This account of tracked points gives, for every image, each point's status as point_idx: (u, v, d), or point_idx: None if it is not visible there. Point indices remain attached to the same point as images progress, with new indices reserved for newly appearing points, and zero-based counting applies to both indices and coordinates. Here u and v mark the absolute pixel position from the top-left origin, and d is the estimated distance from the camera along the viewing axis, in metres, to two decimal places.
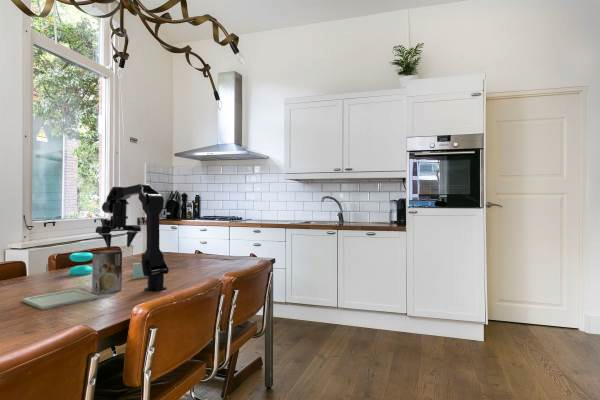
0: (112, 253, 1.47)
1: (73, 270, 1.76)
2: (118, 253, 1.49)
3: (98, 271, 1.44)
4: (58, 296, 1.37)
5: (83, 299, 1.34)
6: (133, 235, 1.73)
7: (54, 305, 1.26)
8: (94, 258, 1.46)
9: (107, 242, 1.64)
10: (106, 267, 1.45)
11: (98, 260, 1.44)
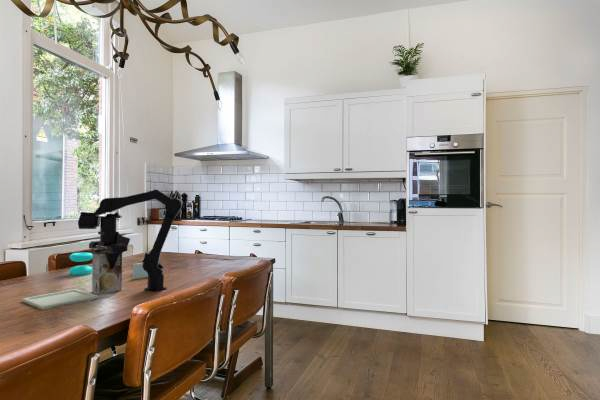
0: None
1: (73, 270, 1.76)
2: None
3: (98, 271, 1.44)
4: (58, 296, 1.37)
5: (83, 299, 1.34)
6: (107, 255, 1.44)
7: (54, 305, 1.26)
8: (94, 258, 1.46)
9: None
10: (106, 267, 1.45)
11: (98, 260, 1.44)
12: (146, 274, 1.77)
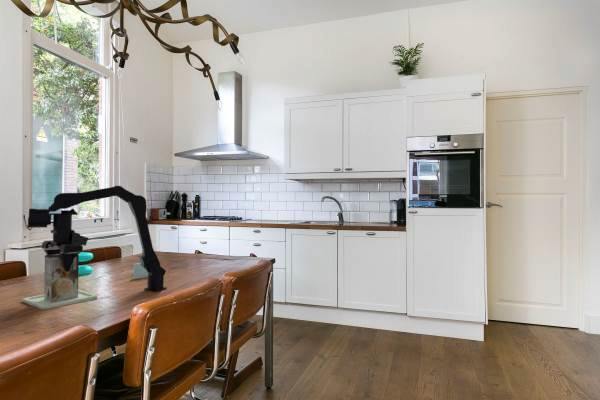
0: None
1: None
2: None
3: (50, 276, 1.30)
4: None
5: (83, 299, 1.34)
6: (61, 257, 1.29)
7: (54, 305, 1.26)
8: (46, 262, 1.32)
9: None
10: (60, 272, 1.31)
11: (50, 264, 1.30)
12: (146, 274, 1.76)
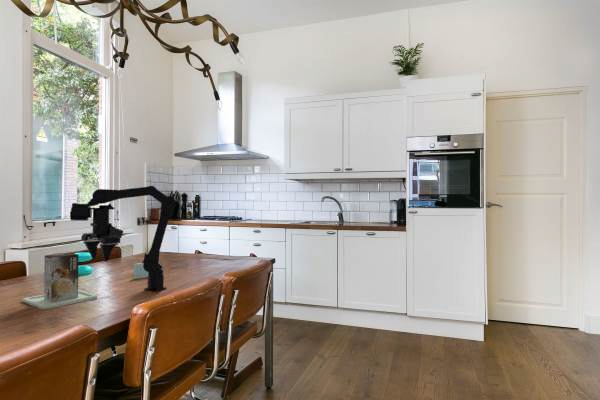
0: (67, 256, 1.33)
1: None
2: (74, 256, 1.35)
3: (50, 276, 1.30)
4: None
5: (83, 299, 1.34)
6: (101, 247, 1.41)
7: (54, 305, 1.26)
8: (46, 262, 1.32)
9: None
10: (60, 272, 1.31)
11: (50, 264, 1.30)
12: (147, 274, 1.76)
